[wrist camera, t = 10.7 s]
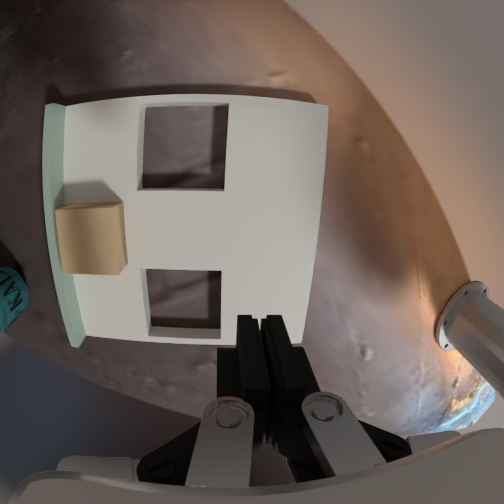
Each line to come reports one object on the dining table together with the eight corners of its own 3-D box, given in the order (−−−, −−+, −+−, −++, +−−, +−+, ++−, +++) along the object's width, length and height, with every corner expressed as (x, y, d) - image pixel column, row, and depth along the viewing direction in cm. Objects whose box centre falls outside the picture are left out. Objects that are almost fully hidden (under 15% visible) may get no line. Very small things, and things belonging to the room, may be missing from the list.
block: (123, 201, 24) (112, 207, 21) (128, 263, 26) (118, 275, 23) (70, 204, 24) (55, 210, 21) (76, 262, 25) (63, 273, 23)
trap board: (321, 108, 25) (339, 101, 21) (297, 333, 33) (306, 356, 29) (67, 109, 22) (45, 105, 18) (85, 325, 30) (71, 346, 26)
